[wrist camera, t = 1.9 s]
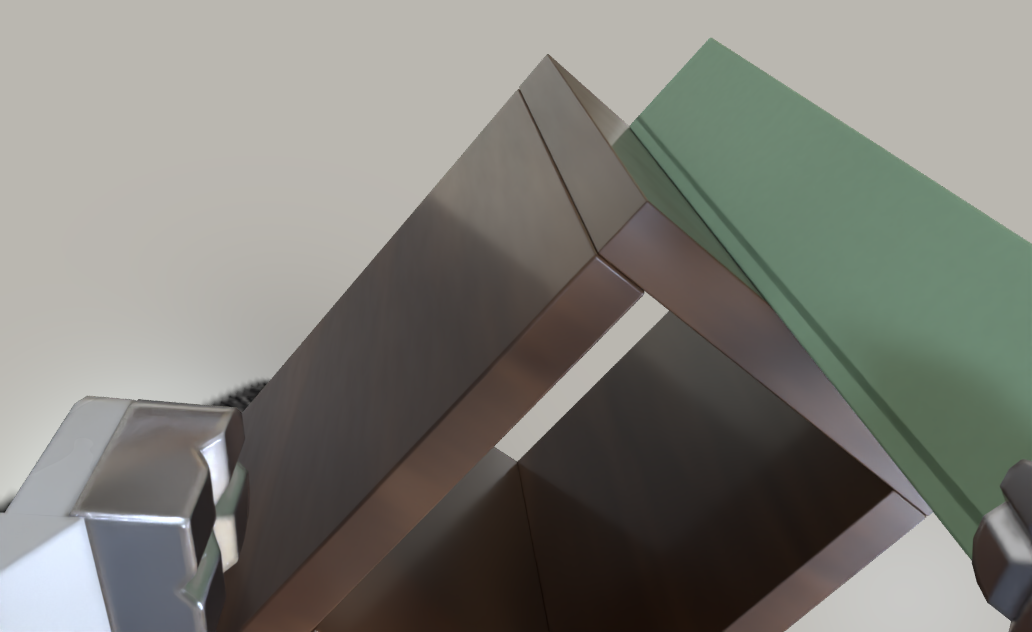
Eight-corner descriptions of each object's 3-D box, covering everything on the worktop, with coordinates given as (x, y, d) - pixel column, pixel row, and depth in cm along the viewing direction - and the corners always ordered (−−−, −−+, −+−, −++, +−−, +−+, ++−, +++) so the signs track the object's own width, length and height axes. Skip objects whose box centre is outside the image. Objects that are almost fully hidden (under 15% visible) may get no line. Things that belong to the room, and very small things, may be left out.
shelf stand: (368, 647, 42) (772, 254, 35) (355, 977, 30) (974, 480, 23) (138, 534, 38) (547, 52, 30) (12, 869, 26) (647, 200, 18)
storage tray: (713, 202, 33) (793, 119, 32) (1151, 712, 14) (1395, 551, 13) (628, 126, 31) (710, 36, 30) (993, 589, 12) (1259, 389, 11)
